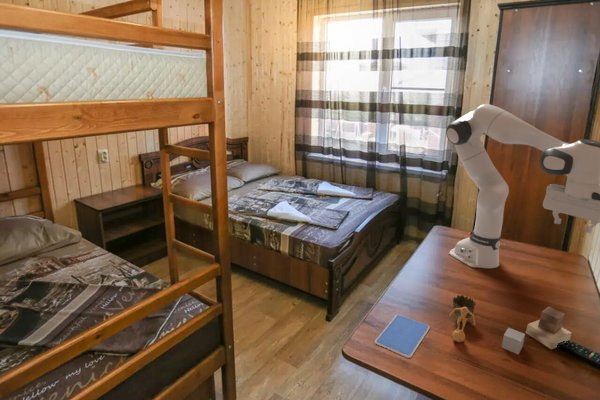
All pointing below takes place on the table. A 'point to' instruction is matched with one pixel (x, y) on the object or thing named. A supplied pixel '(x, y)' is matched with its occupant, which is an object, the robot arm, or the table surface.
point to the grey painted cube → (513, 340)
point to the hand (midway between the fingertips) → (572, 227)
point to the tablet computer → (402, 336)
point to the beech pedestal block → (547, 335)
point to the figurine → (459, 334)
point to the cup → (463, 305)
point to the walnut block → (551, 320)
